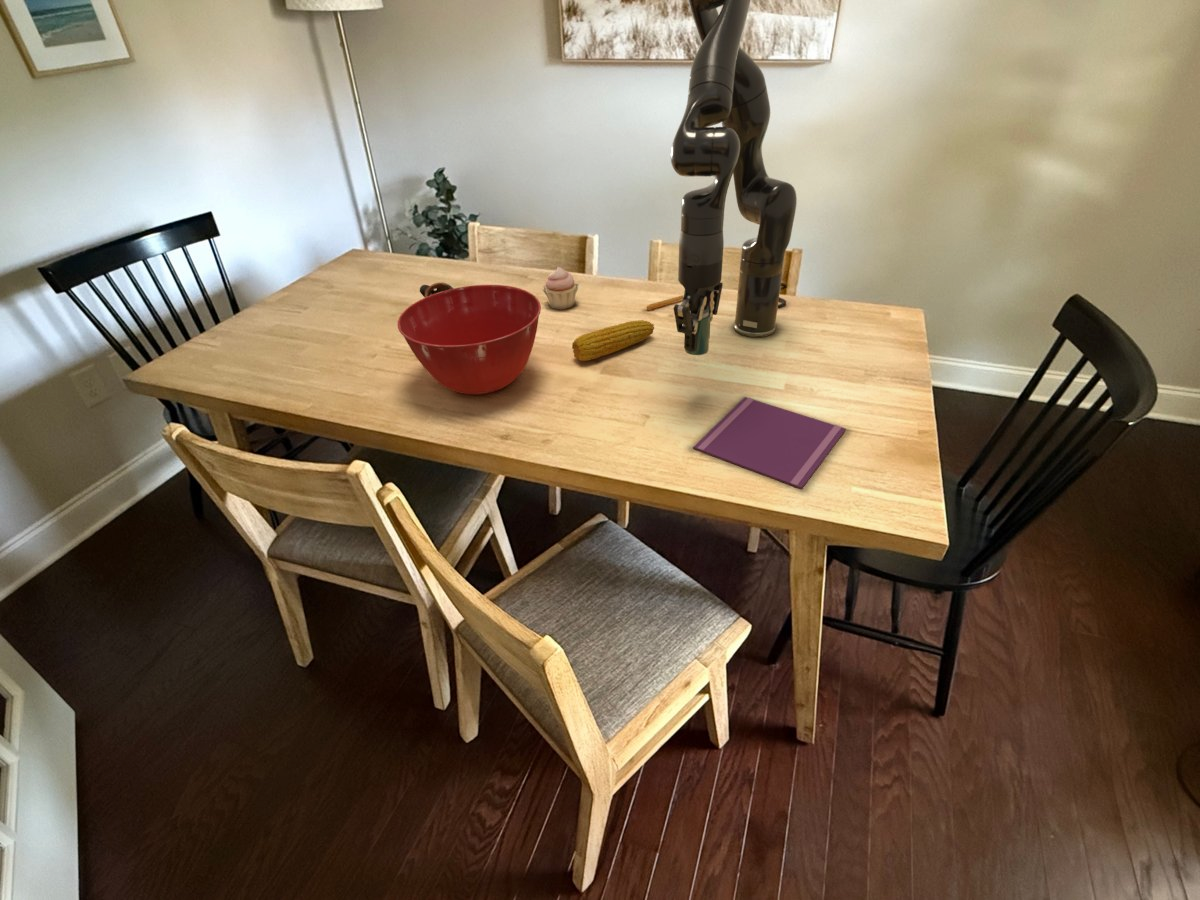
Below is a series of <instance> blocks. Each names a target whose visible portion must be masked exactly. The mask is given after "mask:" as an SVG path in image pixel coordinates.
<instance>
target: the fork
mask: <svg viewBox="0 0 1200 900" xmlns="http://www.w3.org/2000/svg"><path fill="white" fill-rule="evenodd" d="M683 295H684V294H682V295H678V296H674V297H670V298H667V299H664V300H660V301H656V302H652V303H649V304H647V305H646V306H645V307H646V310H647V311H651V310H655V309H657V308H661V307H664V306H666V305H670V304H674V303H676V302H679V301H683Z"/></svg>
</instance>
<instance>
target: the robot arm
mask: <svg viewBox="0 0 1200 900" xmlns="http://www.w3.org/2000/svg"><path fill="white" fill-rule="evenodd" d="M751 1H752V0H687V3H688V6H689V9H690V13H691V15H692V19H693V21H694V24H695V27H696V30H697V34H698V37H699V40H700V43H701V44H700V46H699V47H698V50H697V52H696V54H695V56H694V58H693V60H692V64H691V68H690V74H689V80H688V81H689V83H688V91H687V100H686V107H685V110H684V113H683V115H682V118H681V121H680V124H679V126H678V128H677V130H676V133H675V136H674V137H673V141H672V144H671V148H670V164H671V166H672V169H673V170H674V172H675V173H676V174H678V175H679V176H681V177H686V178H689V177H691V178H692V177H705V178H706V177H707V178H708V177H709V178H710V177H713V178H714V180H713V182H712V183H710V184H709V185H707V186H705V187H701V188H697V189H693V190H690V191H688V192H686V193H684V195H683V196H682V199H681V207H680V234H679V240H678V271H677V272H678V273H677V279H678V283H679V284H680V285H681V286H682V287H683V288H684V292H683V294H682V295H683V299H682V302H681V303H680V304H677V303H676V304H674V306H673V313H674V320H675V326H676V331H677V333H681V334H684V338H683V339H684V340H683V344H684V345H683V348H684V351H685V350H688V351H691V352H694V351H695V350H696V348H697V333H696V332H697V328H698V323H699V321H701V320H702V315H703V310H706V309H707V308H708V310H709V313H710V323H712V321H713V319H714V316H716V315H718V312H719V307H720V301H721V295H722V291H723V285H724V284H723V282H722V276H723V275H722V274H723V261H724V260H723V259H724V247H725V246H724V220H725V206H726V199H727V193H728V190H729V186H730V184H731V179H732V177H733V184H734V191H735V198H736V204H737V208H738V212H739V213H740V215H741V217H743V218H744V219H745V220H747V221H748V222H751V223H753V224H755V225H758V231H757V236H756V237H753V238H749V239H747V240H745V241H744V242H743V243H742V245H741V251H740V252H741V253H740V263H739V273H738V274H739V275H738V284H737V297H736V307H735V318H734V319H735V320H734V323H733V329H734V331H735V332H737V333H738V334H739V335H742V336H745V337H750V338H763V337H764V338H765V337H768V336H770V335H773V334H774V333H775V331H776V327H777V326H776V325H777V323H776V322H777V314H778V309H779V308H782V307H784V306H786V304H787V301H786V299H784V298H782V297H780V292H781V287H783V288H787V284H786V283H784V282H782V277H783V269H784V263H785V262H784V261H785V254H786V250H787V249H788V247H789V244H790V241H791V238H792V232H793V226H794V220H795V216H796V210H797V203H798V202H797V199H798V198H797V192H796V189H795V187H794V185H792V184H791V183H789V182H786V181H784V180H780V179H777V178H773V177H770V176H769V175H768V173H767V170H766V167H765V163H764V162H765V161H764V157H763V143H764V139H765V137H766V133H767V131H768V128H769V124H770V119H771V105H770V98H769V92H768V88H767V87H768V86H767V83H766V77H765V74H764V73H763V71H762V69H761V67H760V66H759V65H758V63H756V62H755V61H754V59H753V58H752V57H751V56H750V55H748V53H747V52H746V51H745V50H744V49H743V48H741V46H740V45H741V41H742V37H743V33H744V30H745V26H746V23H747V19H748V13H749V9H750V5H751ZM720 7H721V10H720V12H718V9H717V8H720ZM719 124H721V126H717V125H719ZM715 125H716V126H715ZM779 301H780V302H782V303H779ZM690 313H694V314H697V316H693V315H690ZM691 320H692V321H693V327H692V324H691ZM710 335H711V331H710V332H709V339H710V337H711V336H710Z"/></svg>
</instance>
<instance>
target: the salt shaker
mask: <svg viewBox="0 0 1200 900" xmlns="http://www.w3.org/2000/svg"><path fill="white" fill-rule="evenodd" d="M690 315H693V316H697V314H694V313H690ZM691 324H692V327H693V321H692V320H691ZM709 332H710V333H711V322H710V313H709V310H708V308H707V309H706V310H703V315H702V320H701V321H699V323H698V328H697V332H696V333H697V348H696V350H695V351H694V352H691V351H688V350H685V349H684V351H685V352H686V353H687V354H689V355H692V356H702V355H706V354H707V353H708V352H709V349H710V338H709Z"/></svg>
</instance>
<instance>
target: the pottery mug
mask: <svg viewBox="0 0 1200 900" xmlns="http://www.w3.org/2000/svg"><path fill="white" fill-rule="evenodd" d="M450 289H454V287H452V286H451V285H450V284H448V283H446V282H435V283H432V284H431V285H428V284H422V285H420V287H419V292H420V294H421V296H422V297H423V298H425V297H428V296H430V295H433V294H436V293H439V292H442V291H446V290H450Z"/></svg>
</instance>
